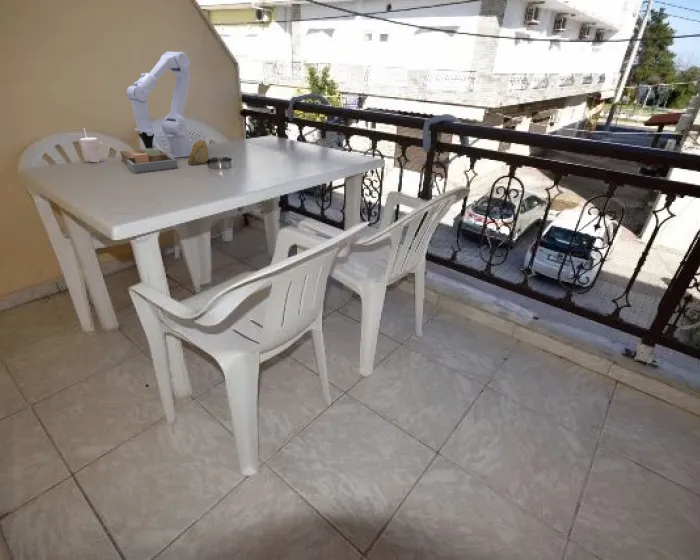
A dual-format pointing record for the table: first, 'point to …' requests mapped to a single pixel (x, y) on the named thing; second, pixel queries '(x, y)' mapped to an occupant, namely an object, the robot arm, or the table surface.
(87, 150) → the smoothie
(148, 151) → the sage tile
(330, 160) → the table surface
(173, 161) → the box
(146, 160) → the terracotta tile
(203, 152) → the rock
